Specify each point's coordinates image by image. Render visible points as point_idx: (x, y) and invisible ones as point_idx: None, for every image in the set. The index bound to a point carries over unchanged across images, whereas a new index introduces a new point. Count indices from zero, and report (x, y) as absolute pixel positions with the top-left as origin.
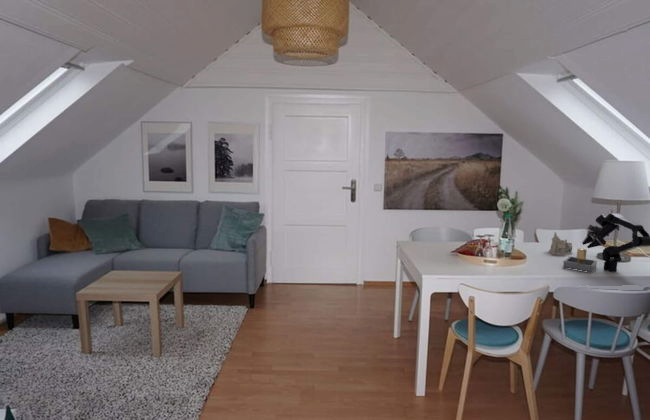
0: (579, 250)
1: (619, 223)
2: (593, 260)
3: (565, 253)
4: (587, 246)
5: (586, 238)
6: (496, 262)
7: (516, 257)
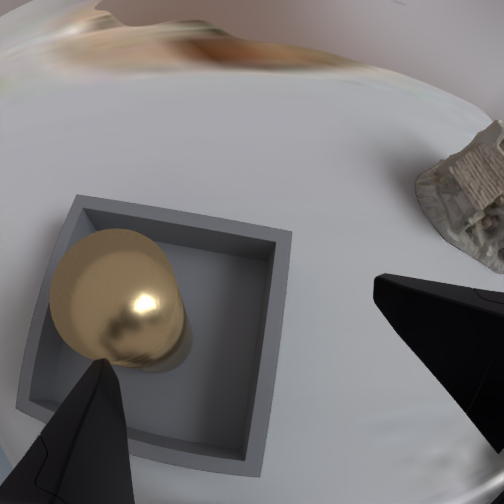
0: (67, 257)
1: None
2: (254, 448)
3: (459, 231)
4: (95, 362)
5: (486, 301)
6: (101, 30)
7: (219, 48)
